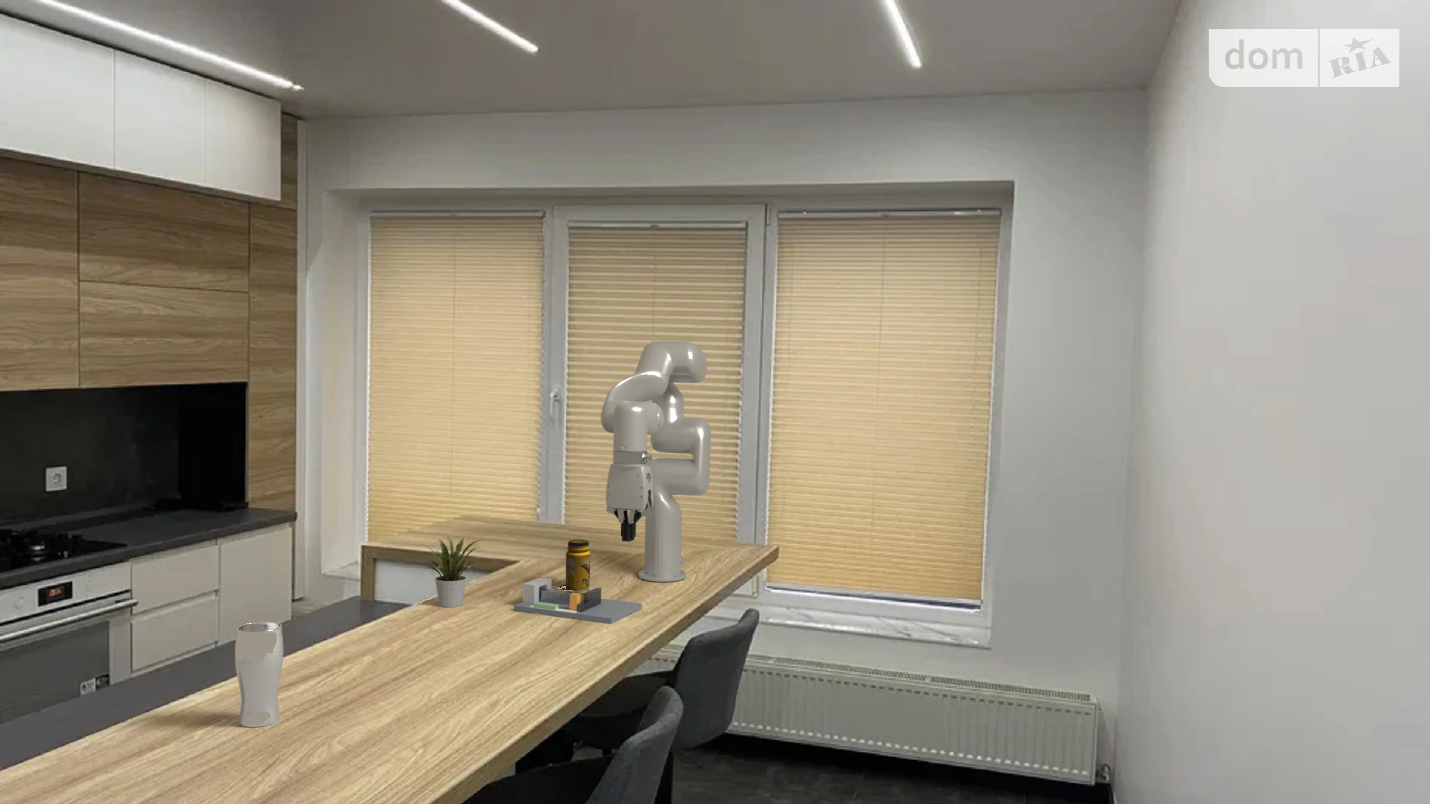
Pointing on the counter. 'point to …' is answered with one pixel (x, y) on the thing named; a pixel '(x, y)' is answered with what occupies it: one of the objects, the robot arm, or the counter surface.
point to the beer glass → (259, 672)
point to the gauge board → (600, 613)
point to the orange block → (574, 601)
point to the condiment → (577, 566)
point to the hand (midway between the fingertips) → (628, 540)
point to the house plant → (451, 574)
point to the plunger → (563, 597)
